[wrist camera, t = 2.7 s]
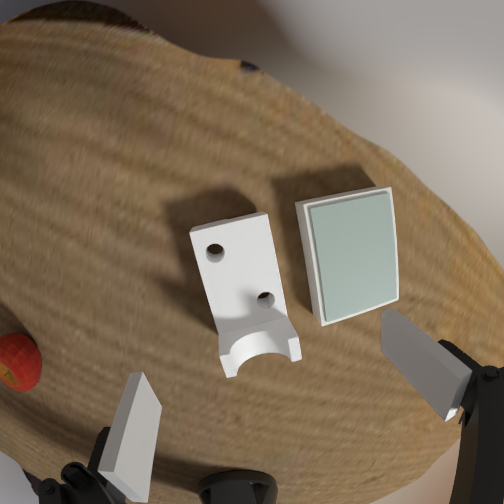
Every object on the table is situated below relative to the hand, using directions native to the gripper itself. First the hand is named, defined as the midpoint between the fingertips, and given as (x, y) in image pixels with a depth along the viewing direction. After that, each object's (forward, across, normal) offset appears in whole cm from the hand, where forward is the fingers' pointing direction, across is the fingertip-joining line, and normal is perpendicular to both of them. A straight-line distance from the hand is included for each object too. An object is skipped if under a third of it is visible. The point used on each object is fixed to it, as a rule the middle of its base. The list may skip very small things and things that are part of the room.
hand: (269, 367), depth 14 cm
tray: (+16, +12, -1) cm, 20 cm away
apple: (+16, -32, -4) cm, 36 cm away
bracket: (+17, 0, -1) cm, 17 cm away
